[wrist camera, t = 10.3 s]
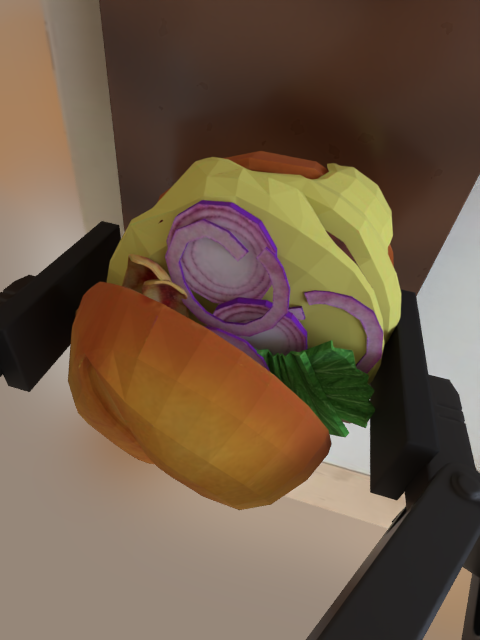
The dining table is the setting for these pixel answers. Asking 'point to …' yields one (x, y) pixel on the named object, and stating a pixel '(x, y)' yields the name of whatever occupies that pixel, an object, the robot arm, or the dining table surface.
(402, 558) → the robot arm
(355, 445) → the dining table surface
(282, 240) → the cheeseburger
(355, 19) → the serving board
